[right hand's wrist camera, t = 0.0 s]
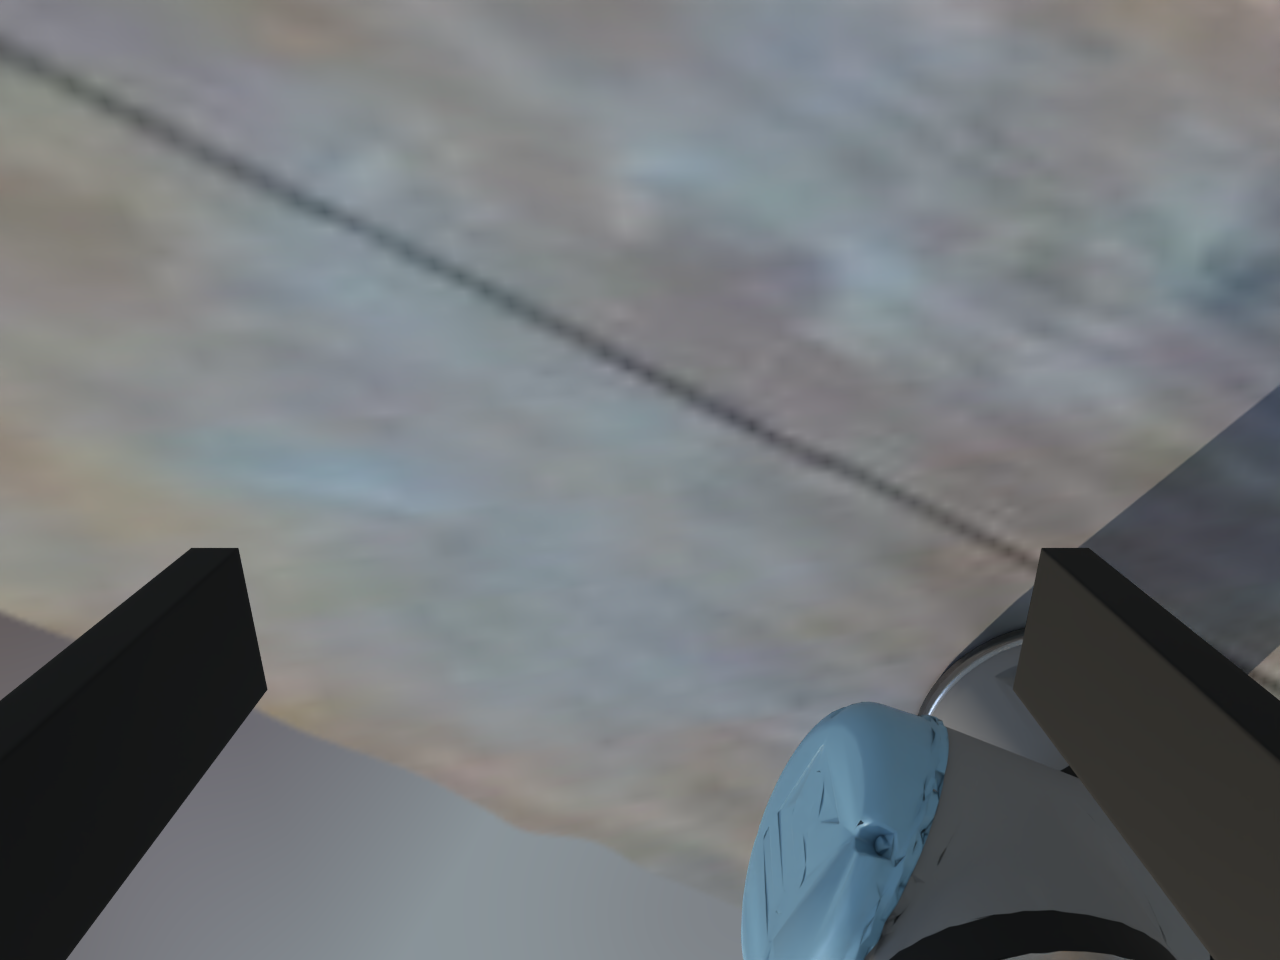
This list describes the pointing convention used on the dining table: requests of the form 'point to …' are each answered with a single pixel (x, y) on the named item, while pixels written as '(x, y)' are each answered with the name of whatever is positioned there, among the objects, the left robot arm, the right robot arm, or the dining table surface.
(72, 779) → the right robot arm
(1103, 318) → the dining table surface
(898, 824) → the left robot arm
